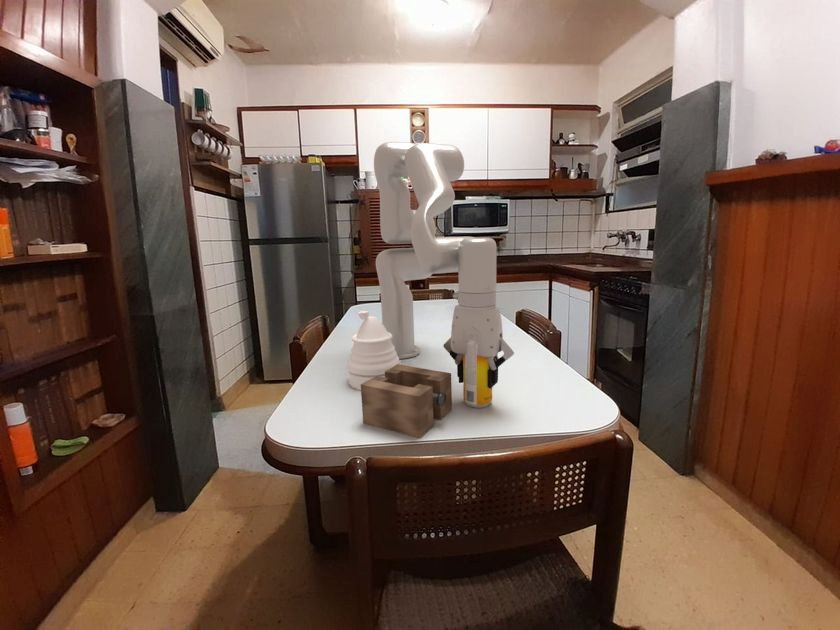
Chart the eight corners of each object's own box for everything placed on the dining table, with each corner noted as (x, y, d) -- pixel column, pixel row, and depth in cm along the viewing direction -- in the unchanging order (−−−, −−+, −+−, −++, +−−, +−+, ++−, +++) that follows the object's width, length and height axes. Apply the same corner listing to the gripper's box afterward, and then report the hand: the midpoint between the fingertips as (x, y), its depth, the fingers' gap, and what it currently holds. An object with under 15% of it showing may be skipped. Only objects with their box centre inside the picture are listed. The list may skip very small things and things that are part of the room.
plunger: (415, 403, 78) (415, 391, 77) (422, 398, 80) (422, 386, 79) (440, 409, 75) (439, 396, 75) (446, 403, 77) (446, 391, 77)
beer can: (496, 400, 87) (497, 333, 84) (485, 411, 82) (485, 340, 79) (470, 394, 90) (470, 330, 87) (458, 405, 85) (457, 336, 82)
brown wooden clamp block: (363, 422, 79) (360, 384, 77) (399, 398, 90) (397, 364, 88) (420, 438, 72) (419, 396, 71) (451, 409, 83) (451, 373, 81)
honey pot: (361, 395, 92) (357, 318, 88) (341, 379, 103) (336, 310, 99) (410, 382, 99) (407, 311, 95) (386, 368, 109) (382, 304, 106)
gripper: (431, 300, 83) (433, 382, 86) (513, 305, 74) (511, 397, 78) (447, 294, 89) (448, 371, 93) (524, 299, 80) (522, 384, 84)
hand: (477, 382), depth 85 cm, fingers closed on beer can, 5 cm apart
